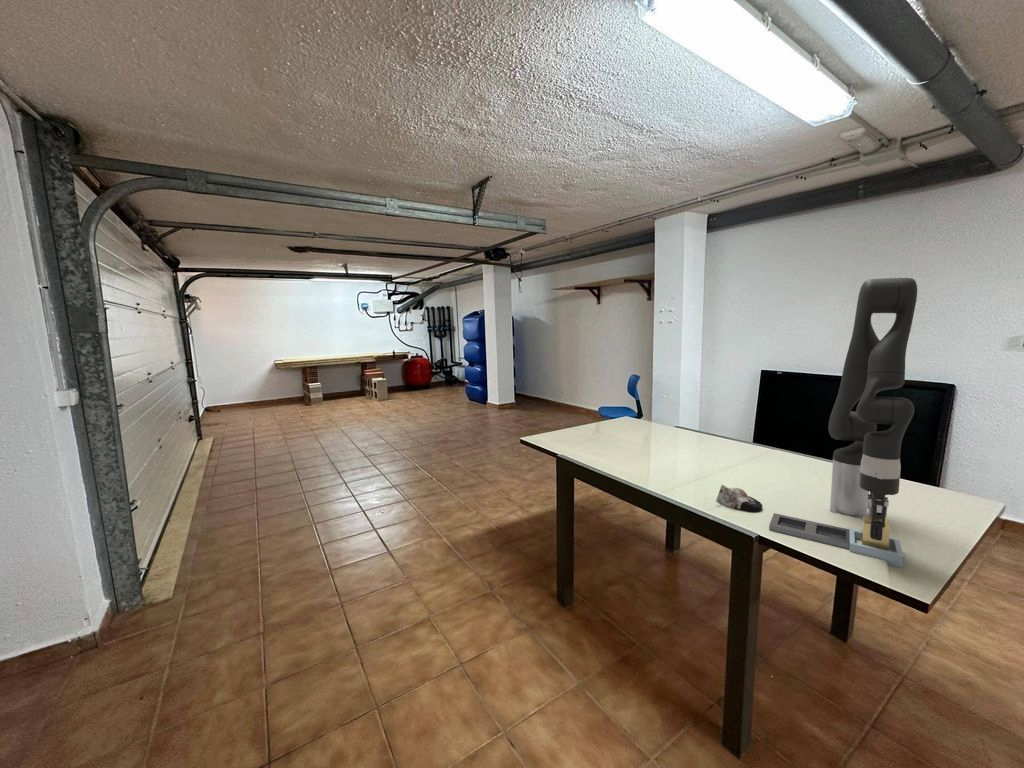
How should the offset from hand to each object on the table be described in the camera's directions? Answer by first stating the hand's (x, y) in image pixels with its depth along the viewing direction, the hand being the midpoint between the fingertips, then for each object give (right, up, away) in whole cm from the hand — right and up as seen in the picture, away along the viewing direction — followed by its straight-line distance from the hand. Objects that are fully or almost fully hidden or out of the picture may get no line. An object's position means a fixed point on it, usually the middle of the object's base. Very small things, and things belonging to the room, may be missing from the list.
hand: (875, 534), depth 104 cm
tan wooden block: (0, -4, 0) cm, 4 cm away
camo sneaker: (-18, -3, +29) cm, 35 cm away
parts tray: (0, -5, +1) cm, 5 cm away
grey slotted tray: (-10, -4, +10) cm, 15 cm away
